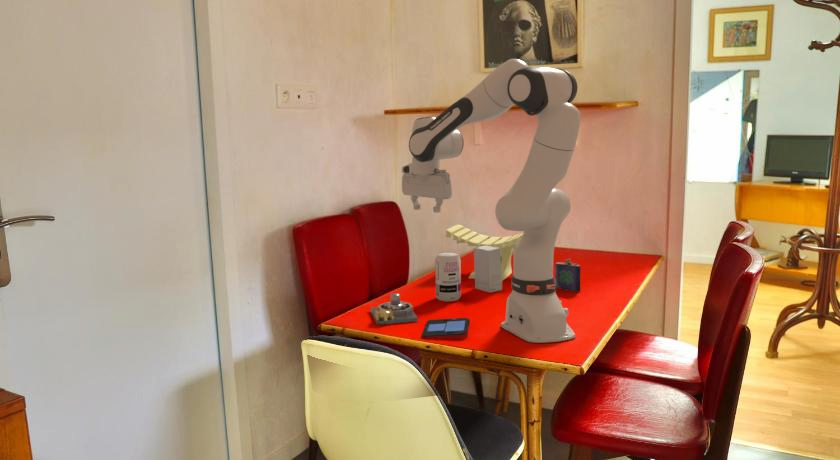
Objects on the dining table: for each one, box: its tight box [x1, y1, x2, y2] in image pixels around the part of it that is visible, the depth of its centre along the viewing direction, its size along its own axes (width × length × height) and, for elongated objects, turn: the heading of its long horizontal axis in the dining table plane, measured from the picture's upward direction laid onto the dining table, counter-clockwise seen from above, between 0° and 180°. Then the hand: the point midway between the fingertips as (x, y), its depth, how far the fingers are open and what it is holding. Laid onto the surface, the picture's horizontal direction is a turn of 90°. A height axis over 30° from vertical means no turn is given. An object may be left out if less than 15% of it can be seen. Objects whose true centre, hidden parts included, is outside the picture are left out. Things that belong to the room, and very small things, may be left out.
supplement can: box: [434, 251, 462, 302], centre depth 214 cm, size 8×8×15 cm
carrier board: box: [369, 301, 419, 326], centre depth 197 cm, size 14×12×3 cm
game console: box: [420, 317, 471, 340], centre depth 183 cm, size 14×13×2 cm
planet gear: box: [384, 292, 408, 311], centre depth 199 cm, size 7×7×5 cm
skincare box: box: [473, 245, 503, 293], centre depth 224 cm, size 8×6×15 cm
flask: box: [554, 258, 581, 293], centre depth 222 cm, size 9×3×11 cm, turn 50°
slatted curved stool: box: [445, 224, 523, 282], centre depth 245 cm, size 30×16×18 cm, turn 67°
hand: (426, 210), depth 212 cm, fingers open, 8 cm apart
